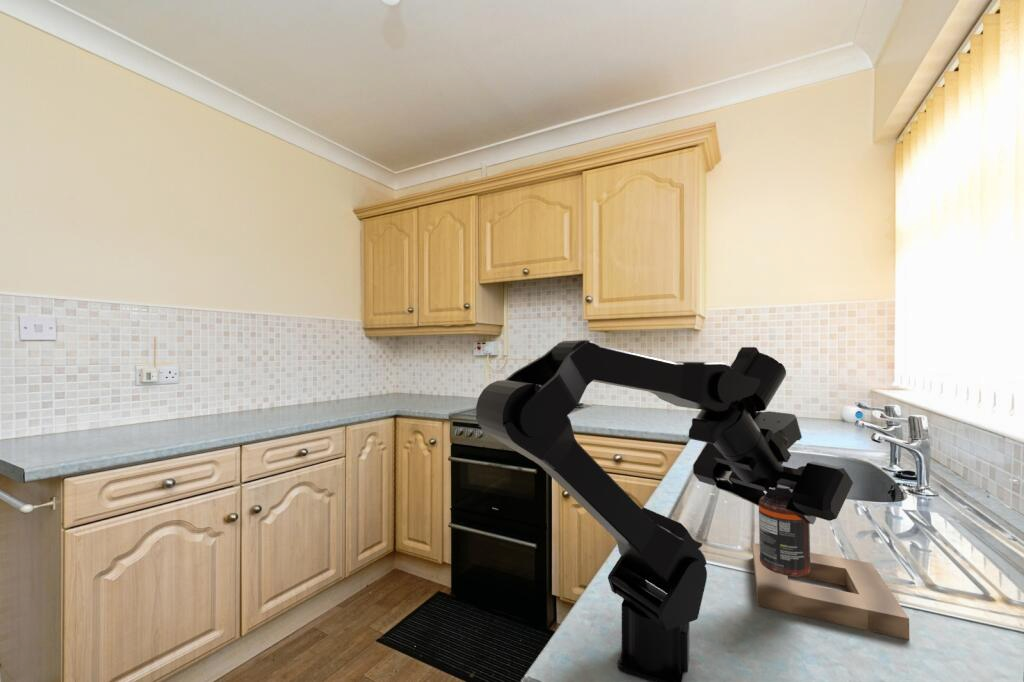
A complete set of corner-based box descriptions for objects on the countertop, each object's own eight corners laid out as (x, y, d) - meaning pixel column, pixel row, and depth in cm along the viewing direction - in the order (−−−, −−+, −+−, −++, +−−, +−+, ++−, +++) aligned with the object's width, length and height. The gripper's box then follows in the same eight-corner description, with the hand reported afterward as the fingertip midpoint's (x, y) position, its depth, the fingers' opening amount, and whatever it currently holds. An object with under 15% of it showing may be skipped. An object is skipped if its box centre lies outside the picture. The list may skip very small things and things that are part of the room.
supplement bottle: (791, 558, 64) (790, 477, 64) (821, 578, 58) (820, 490, 58) (750, 558, 64) (749, 477, 64) (776, 578, 58) (775, 490, 58)
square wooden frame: (757, 605, 61) (757, 587, 61) (752, 557, 75) (752, 542, 75) (909, 639, 54) (909, 618, 54) (872, 579, 68) (871, 563, 68)
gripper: (843, 399, 52) (891, 484, 56) (705, 387, 68) (752, 454, 73) (804, 475, 48) (859, 560, 52) (668, 443, 64) (719, 510, 69)
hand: (789, 513), depth 62 cm, fingers closed on supplement bottle, 6 cm apart
